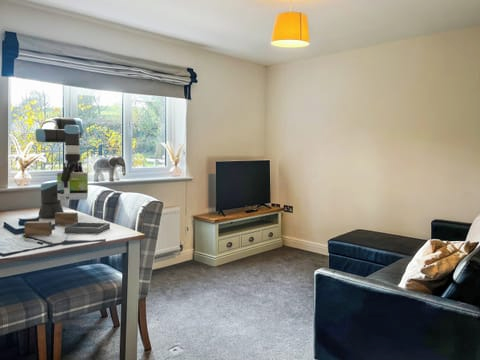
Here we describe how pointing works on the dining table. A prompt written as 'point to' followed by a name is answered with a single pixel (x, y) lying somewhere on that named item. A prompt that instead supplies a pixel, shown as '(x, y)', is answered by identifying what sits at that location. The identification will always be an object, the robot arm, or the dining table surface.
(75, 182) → the tea box
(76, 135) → the robot arm
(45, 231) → the block
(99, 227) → the tray
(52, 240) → the dining table surface
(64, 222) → the block
